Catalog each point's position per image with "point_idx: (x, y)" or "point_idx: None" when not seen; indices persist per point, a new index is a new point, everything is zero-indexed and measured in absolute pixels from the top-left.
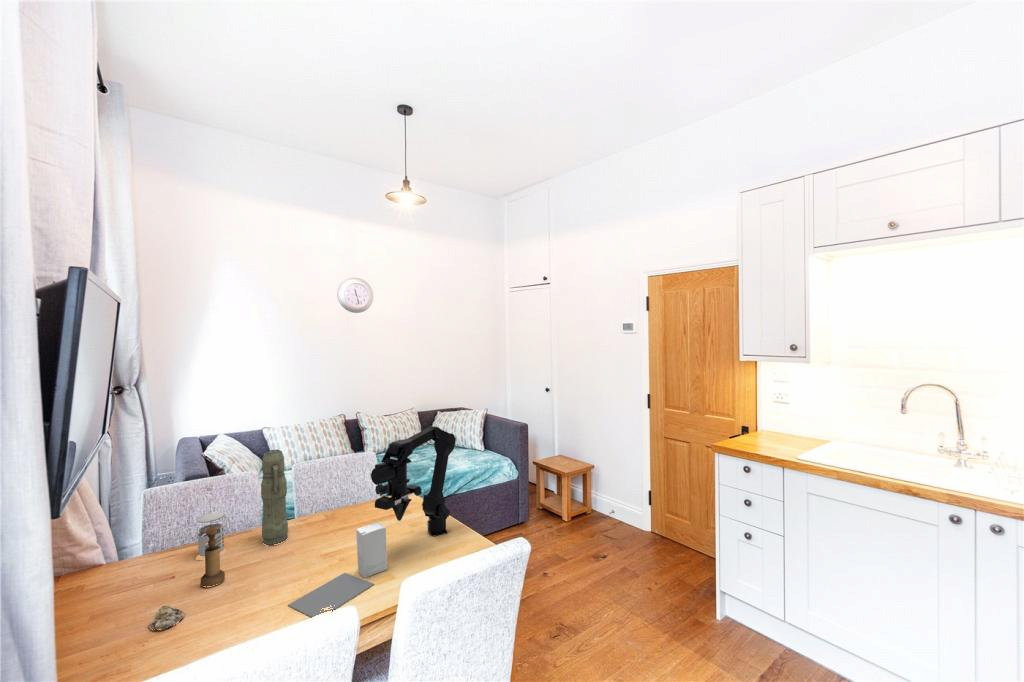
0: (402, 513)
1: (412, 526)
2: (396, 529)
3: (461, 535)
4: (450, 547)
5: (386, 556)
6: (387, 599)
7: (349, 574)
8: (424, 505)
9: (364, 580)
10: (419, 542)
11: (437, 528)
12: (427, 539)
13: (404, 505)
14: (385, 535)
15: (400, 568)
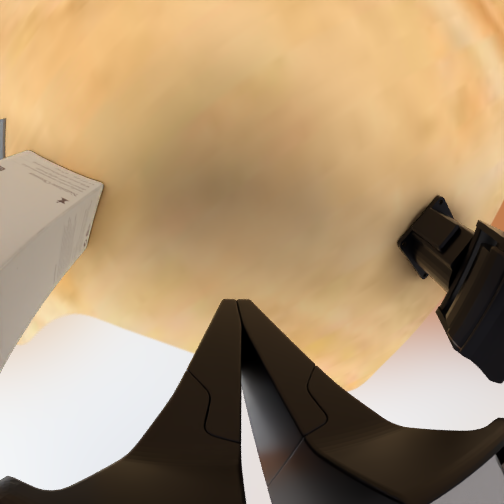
0: (247, 405)
1: (455, 111)
2: (421, 50)
3: (404, 321)
4: (326, 341)
5: (60, 277)
6: (24, 336)
7: (1, 147)
8: (501, 289)
9: None
10: (344, 221)
11: (424, 266)
12: (374, 237)
13: (273, 500)
14: (7, 355)
15: (121, 284)
